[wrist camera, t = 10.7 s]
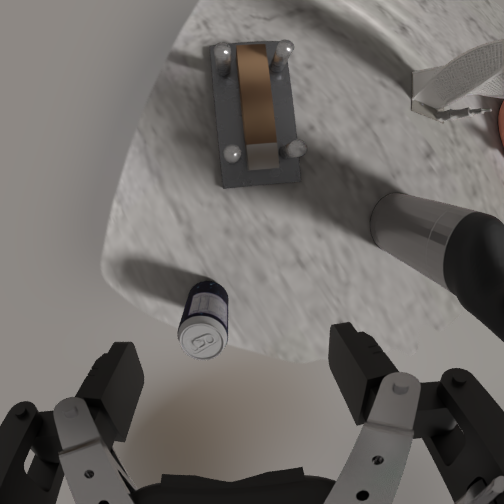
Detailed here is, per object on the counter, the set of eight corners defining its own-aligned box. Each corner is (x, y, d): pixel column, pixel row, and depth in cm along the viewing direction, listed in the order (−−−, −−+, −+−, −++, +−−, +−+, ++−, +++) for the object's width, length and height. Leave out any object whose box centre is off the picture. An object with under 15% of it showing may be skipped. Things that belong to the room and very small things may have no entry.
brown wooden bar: (235, 55, 31) (236, 45, 28) (262, 53, 31) (265, 43, 28) (247, 170, 36) (249, 170, 32) (275, 168, 36) (279, 167, 33)
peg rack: (283, 44, 32) (295, 18, 24) (298, 181, 38) (315, 184, 30) (210, 49, 32) (205, 22, 24) (223, 188, 37) (221, 193, 30)
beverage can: (182, 288, 41) (165, 332, 29) (216, 272, 41) (211, 312, 29) (201, 319, 42) (192, 369, 31) (235, 304, 42) (236, 352, 31)
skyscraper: (403, 108, 36) (554, 79, 9) (403, 63, 34) (535, 10, 7) (442, 123, 37) (582, 117, 10) (441, 81, 34) (569, 53, 8)
